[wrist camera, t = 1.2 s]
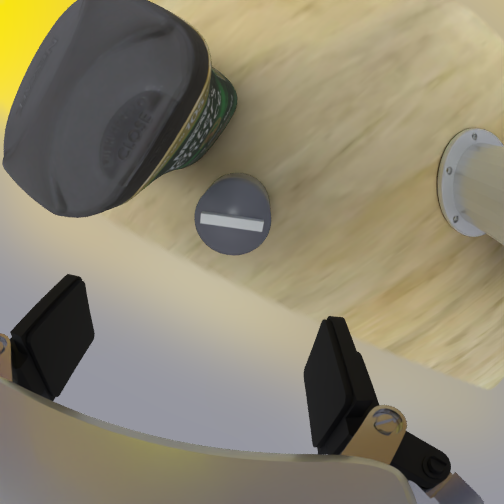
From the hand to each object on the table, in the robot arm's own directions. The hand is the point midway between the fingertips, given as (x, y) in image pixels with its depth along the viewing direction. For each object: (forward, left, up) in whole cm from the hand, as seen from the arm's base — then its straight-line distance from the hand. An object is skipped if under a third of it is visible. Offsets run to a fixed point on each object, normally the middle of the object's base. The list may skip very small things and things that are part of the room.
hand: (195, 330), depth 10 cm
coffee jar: (+5, -8, -18) cm, 21 cm away
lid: (0, 0, -18) cm, 18 cm away
